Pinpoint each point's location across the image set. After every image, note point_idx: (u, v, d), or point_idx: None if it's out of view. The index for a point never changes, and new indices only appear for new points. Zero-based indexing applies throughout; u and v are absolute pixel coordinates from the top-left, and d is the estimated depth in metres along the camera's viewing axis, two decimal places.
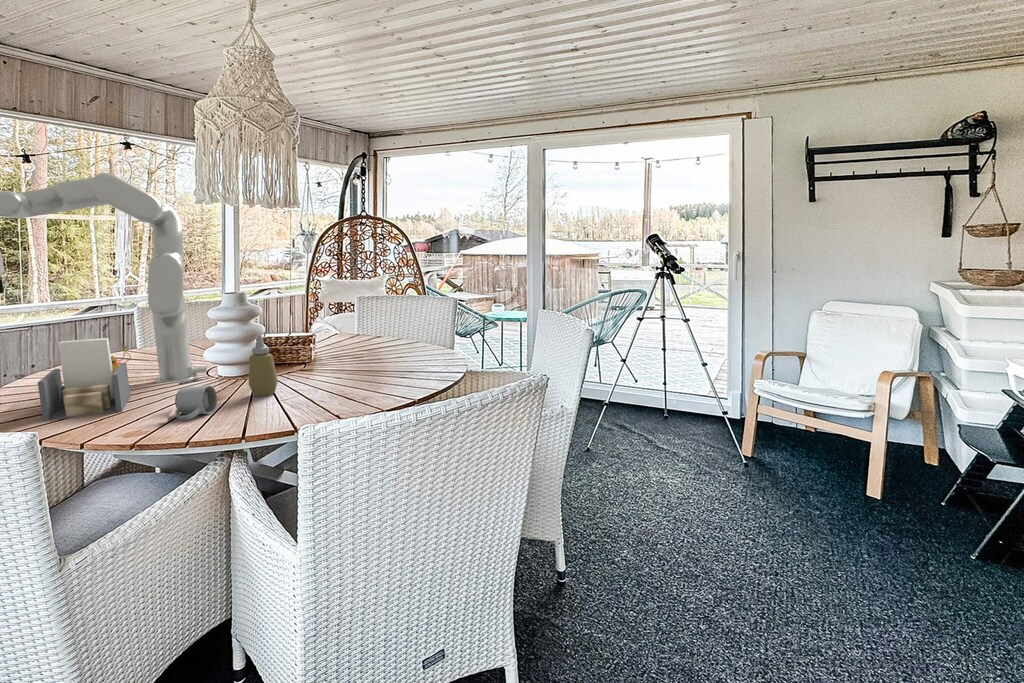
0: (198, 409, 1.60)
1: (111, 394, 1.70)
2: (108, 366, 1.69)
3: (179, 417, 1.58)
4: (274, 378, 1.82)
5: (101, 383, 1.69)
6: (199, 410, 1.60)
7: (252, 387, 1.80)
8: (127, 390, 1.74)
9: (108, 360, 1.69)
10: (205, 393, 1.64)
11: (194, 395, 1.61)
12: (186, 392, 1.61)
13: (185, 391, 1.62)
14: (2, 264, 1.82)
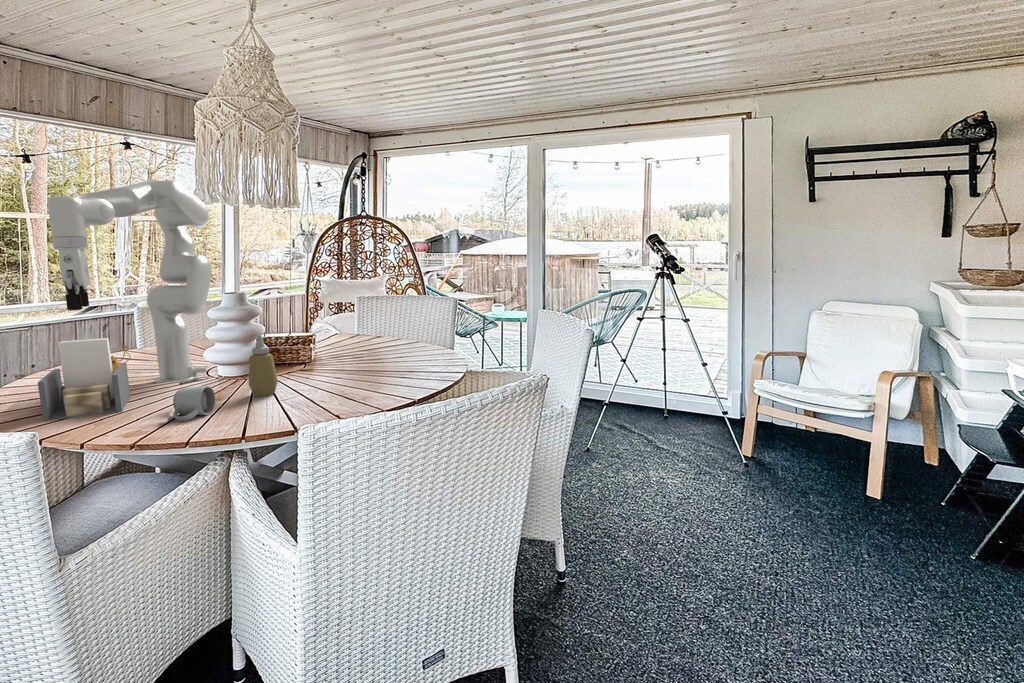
0: (196, 410, 1.59)
1: (111, 394, 1.70)
2: (108, 366, 1.69)
3: (177, 418, 1.57)
4: (274, 378, 1.82)
5: (101, 383, 1.69)
6: (197, 411, 1.60)
7: (252, 387, 1.80)
8: (127, 390, 1.74)
9: (108, 360, 1.69)
10: (203, 394, 1.63)
11: (192, 395, 1.60)
12: (184, 393, 1.61)
13: (183, 392, 1.61)
14: None
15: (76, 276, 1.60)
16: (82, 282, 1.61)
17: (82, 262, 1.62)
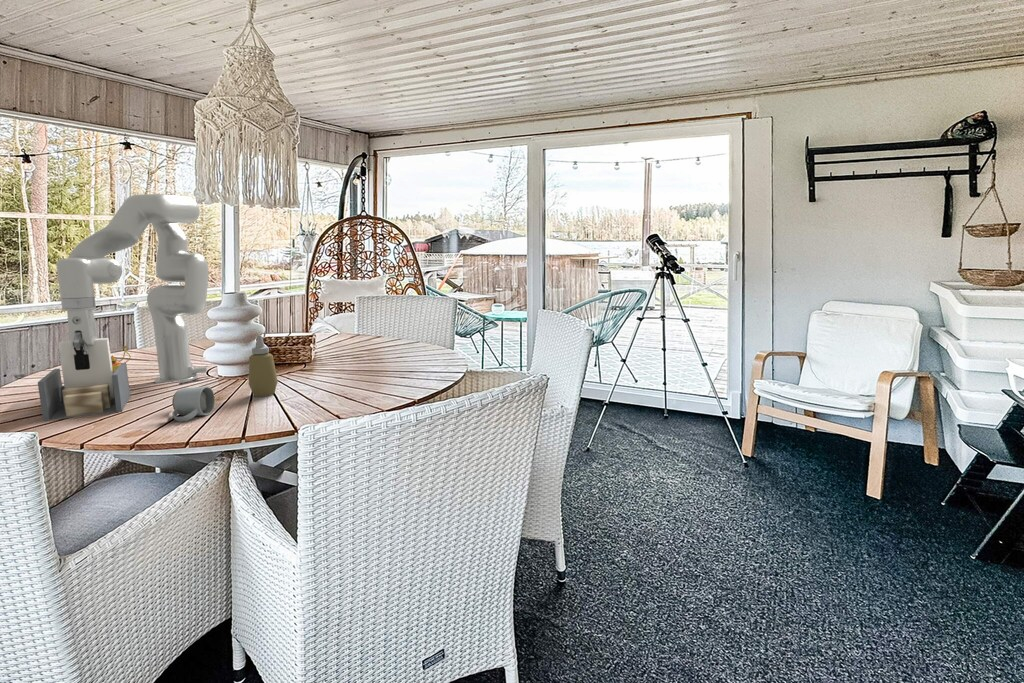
0: (195, 410, 1.59)
1: (111, 394, 1.70)
2: (108, 366, 1.69)
3: (176, 418, 1.57)
4: (274, 378, 1.82)
5: (101, 383, 1.69)
6: (196, 412, 1.59)
7: (252, 387, 1.80)
8: (127, 390, 1.74)
9: (108, 360, 1.69)
10: (202, 394, 1.63)
11: (191, 396, 1.59)
12: (183, 393, 1.60)
13: (183, 392, 1.60)
14: (96, 333, 1.71)
15: (84, 337, 1.62)
16: (90, 342, 1.63)
17: (90, 322, 1.64)
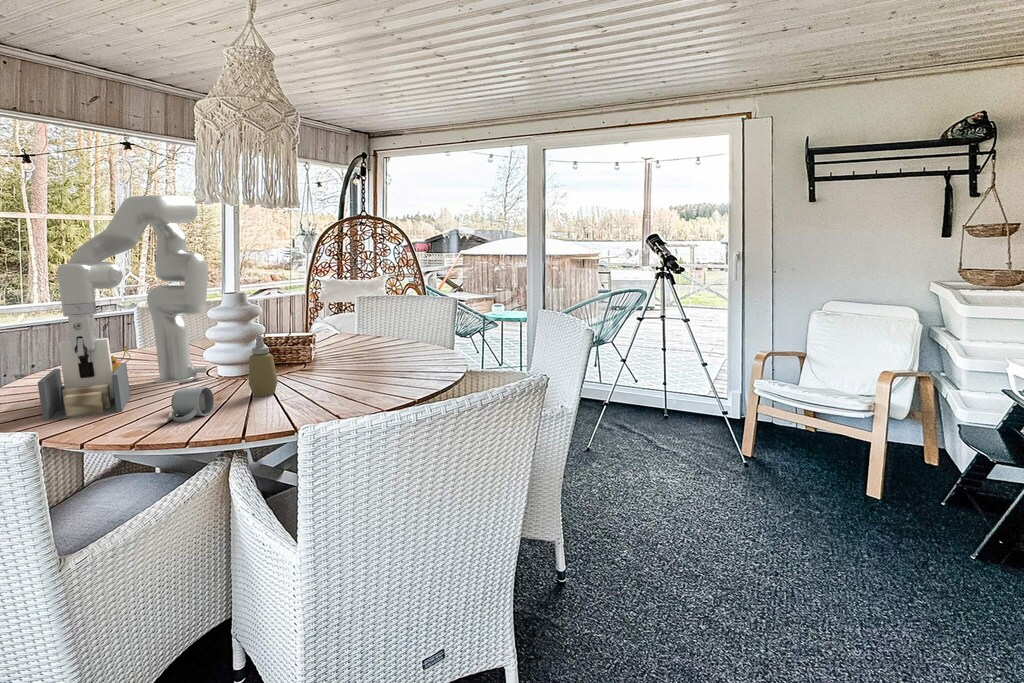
0: (194, 411, 1.59)
1: (111, 394, 1.70)
2: (108, 366, 1.69)
3: (175, 419, 1.57)
4: (274, 378, 1.82)
5: (101, 383, 1.69)
6: (195, 412, 1.59)
7: (252, 387, 1.80)
8: (127, 390, 1.74)
9: (108, 360, 1.69)
10: (202, 394, 1.63)
11: (191, 396, 1.59)
12: (182, 394, 1.60)
13: (182, 393, 1.60)
14: (97, 338, 1.71)
15: (86, 342, 1.63)
16: (91, 348, 1.64)
17: (91, 328, 1.65)
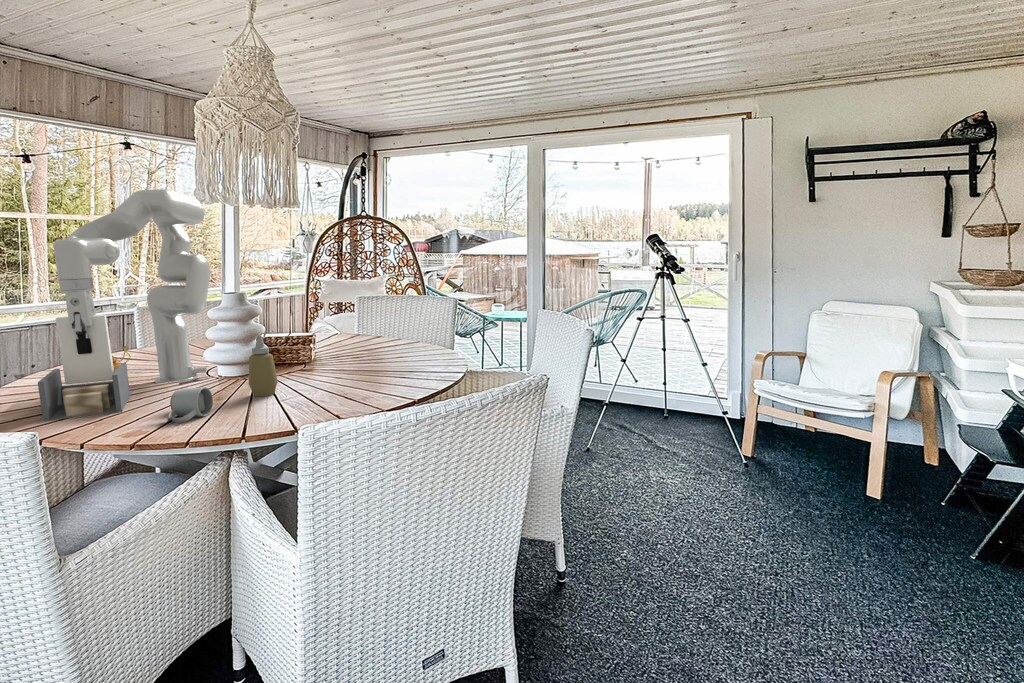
0: (193, 411, 1.58)
1: (109, 371, 1.70)
2: (106, 342, 1.68)
3: (174, 419, 1.56)
4: (274, 378, 1.82)
5: (99, 360, 1.68)
6: (194, 412, 1.58)
7: (252, 387, 1.80)
8: (127, 390, 1.74)
9: (106, 336, 1.68)
10: (200, 395, 1.62)
11: (189, 397, 1.59)
12: (181, 394, 1.59)
13: (181, 393, 1.60)
14: (95, 314, 1.70)
15: (83, 318, 1.62)
16: (89, 324, 1.63)
17: (88, 304, 1.64)
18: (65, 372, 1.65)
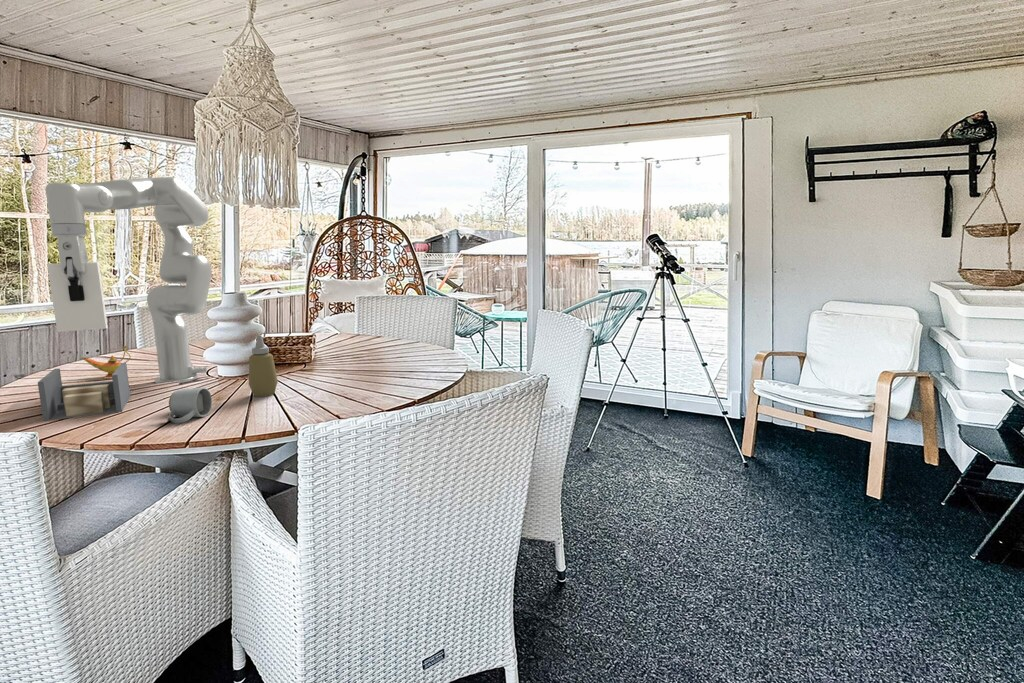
0: (192, 412, 1.58)
1: (102, 320, 1.67)
2: (99, 290, 1.66)
3: (173, 420, 1.56)
4: (274, 378, 1.82)
5: (91, 308, 1.66)
6: (193, 413, 1.58)
7: (252, 387, 1.80)
8: (127, 390, 1.74)
9: (99, 284, 1.65)
10: (199, 395, 1.62)
11: (188, 397, 1.58)
12: (180, 395, 1.59)
13: (179, 394, 1.59)
14: None
15: (75, 263, 1.59)
16: (81, 269, 1.60)
17: (81, 249, 1.61)
18: (57, 319, 1.63)
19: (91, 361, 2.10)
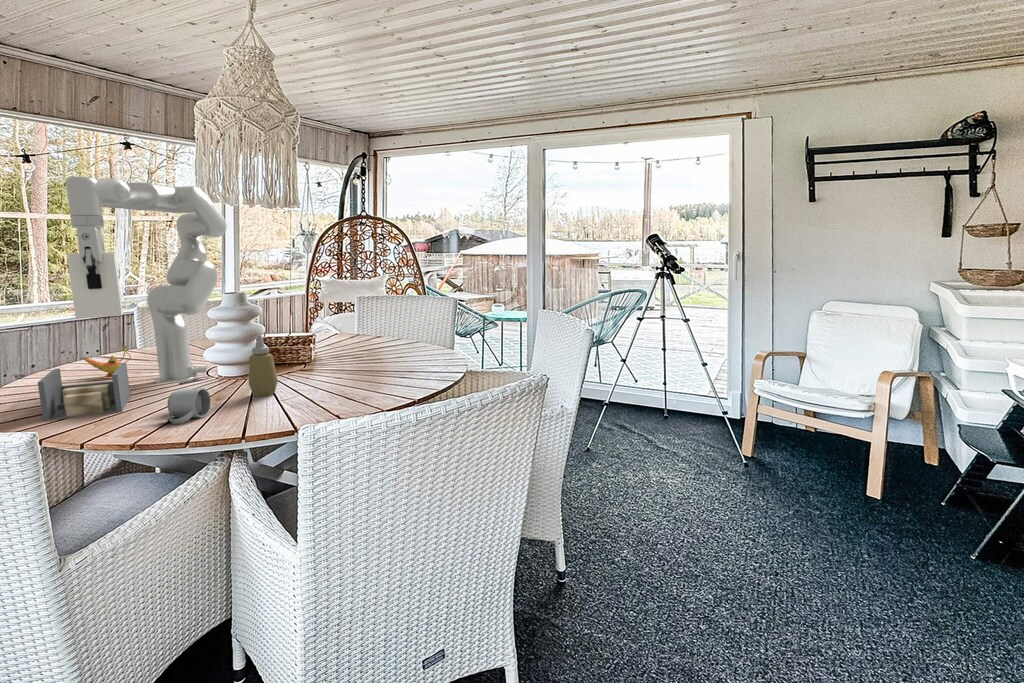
0: (191, 412, 1.57)
1: (118, 307, 1.76)
2: (115, 279, 1.74)
3: (171, 421, 1.55)
4: (274, 378, 1.82)
5: (108, 295, 1.74)
6: (191, 414, 1.57)
7: (252, 387, 1.80)
8: (127, 390, 1.74)
9: (115, 273, 1.74)
10: (198, 396, 1.61)
11: (187, 398, 1.58)
12: (178, 395, 1.58)
13: (178, 394, 1.59)
14: None
15: (93, 253, 1.68)
16: (99, 258, 1.69)
17: (99, 239, 1.70)
18: (75, 306, 1.71)
19: (91, 361, 2.10)
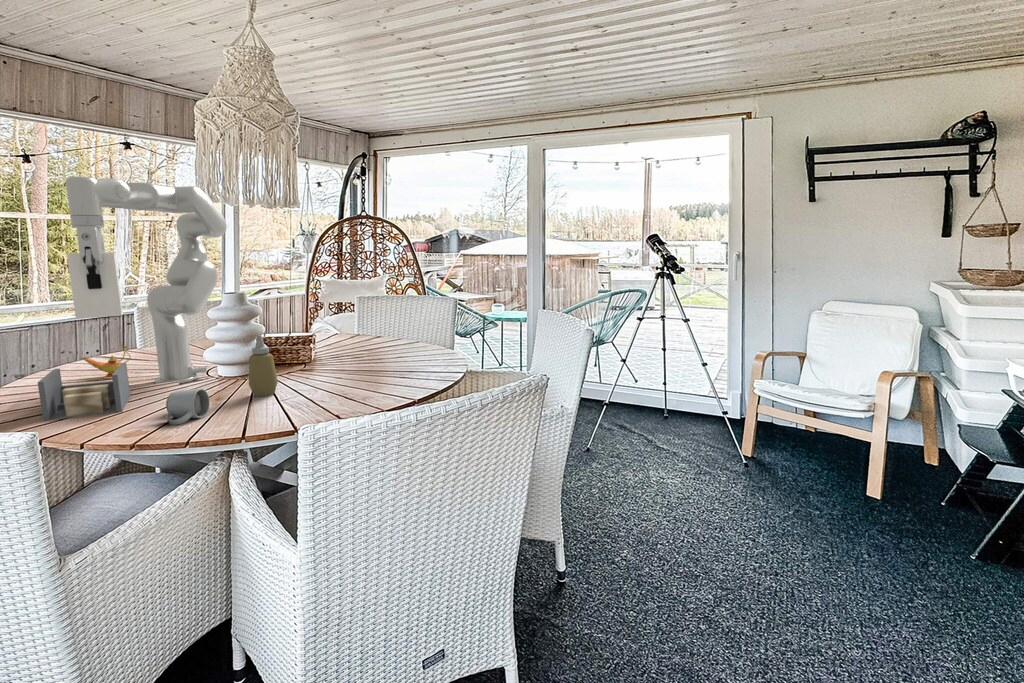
0: (189, 413, 1.57)
1: (118, 307, 1.76)
2: (115, 279, 1.74)
3: (170, 421, 1.55)
4: (274, 378, 1.82)
5: (108, 295, 1.74)
6: (190, 414, 1.57)
7: (252, 387, 1.80)
8: (127, 390, 1.74)
9: (115, 273, 1.74)
10: (197, 396, 1.61)
11: (186, 398, 1.57)
12: (177, 396, 1.58)
13: (177, 395, 1.58)
14: None
15: (93, 253, 1.68)
16: (99, 258, 1.69)
17: (99, 239, 1.70)
18: (75, 306, 1.71)
19: (91, 361, 2.10)
